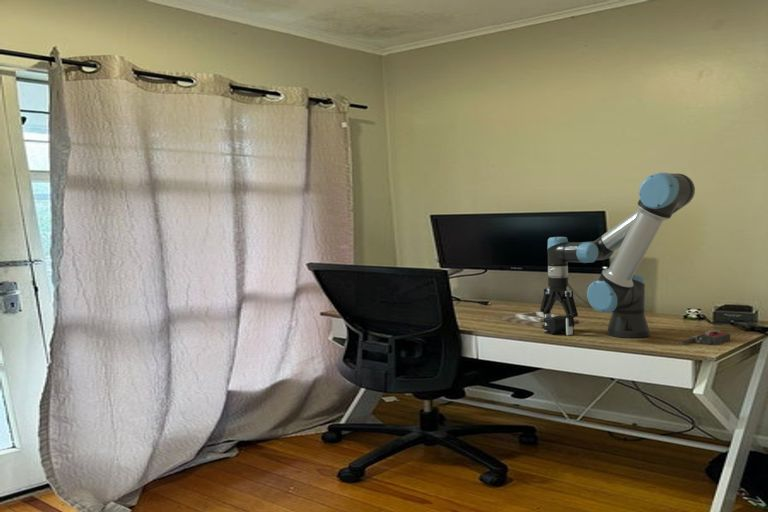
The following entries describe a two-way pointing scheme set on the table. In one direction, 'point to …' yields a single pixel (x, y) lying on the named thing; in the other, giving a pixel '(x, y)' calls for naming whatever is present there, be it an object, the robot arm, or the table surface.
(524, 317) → the lens rest
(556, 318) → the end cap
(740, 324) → the table surface
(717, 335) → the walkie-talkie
